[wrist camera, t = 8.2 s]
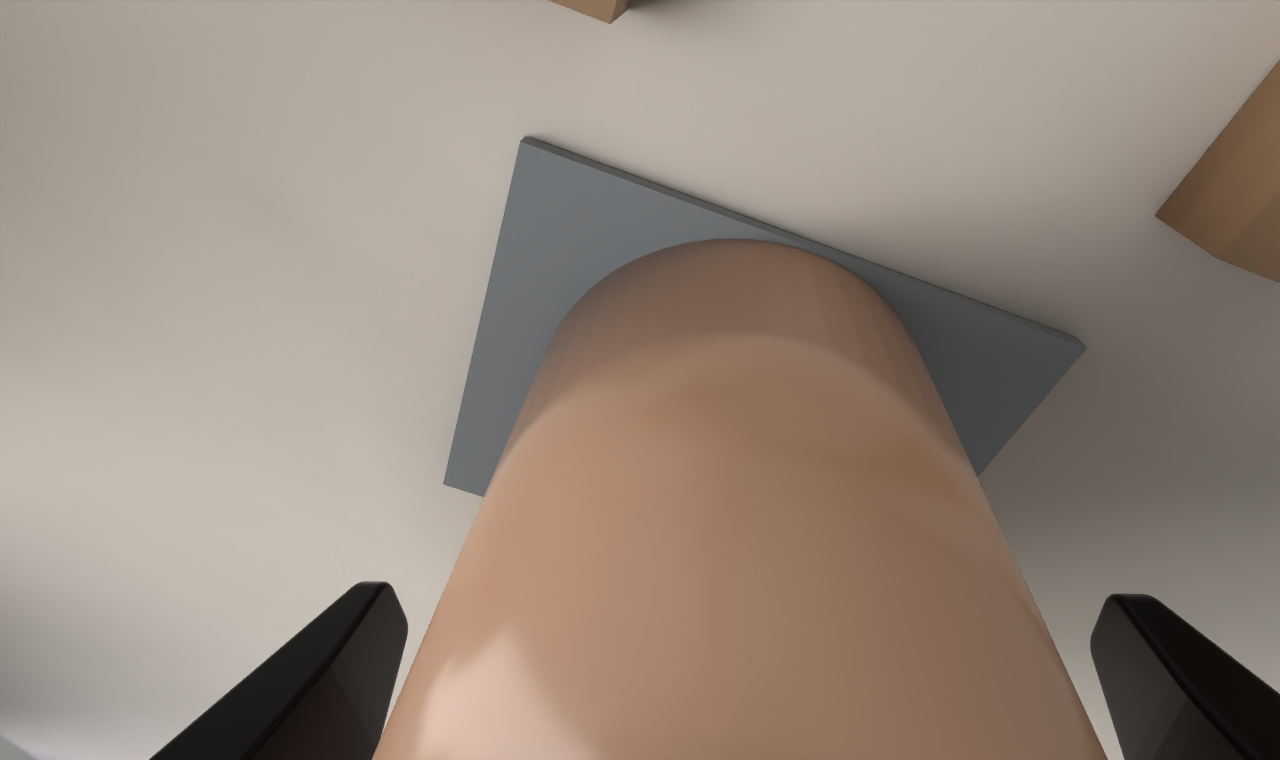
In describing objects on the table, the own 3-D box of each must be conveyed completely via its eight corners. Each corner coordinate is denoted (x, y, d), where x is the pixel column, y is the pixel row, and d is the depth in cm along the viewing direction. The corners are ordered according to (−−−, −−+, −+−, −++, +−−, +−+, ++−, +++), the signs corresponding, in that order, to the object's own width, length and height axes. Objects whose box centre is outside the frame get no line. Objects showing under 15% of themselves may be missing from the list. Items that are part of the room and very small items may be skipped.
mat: (525, 136, 10) (520, 141, 10) (1078, 338, 11) (1086, 347, 10) (448, 474, 14) (443, 483, 13) (857, 603, 15) (860, 615, 14)
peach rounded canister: (503, 251, 11) (183, 710, 4) (954, 225, 10) (1377, 768, 3) (591, 648, 16) (504, 1114, 10) (888, 656, 15) (1006, 1180, 9)
